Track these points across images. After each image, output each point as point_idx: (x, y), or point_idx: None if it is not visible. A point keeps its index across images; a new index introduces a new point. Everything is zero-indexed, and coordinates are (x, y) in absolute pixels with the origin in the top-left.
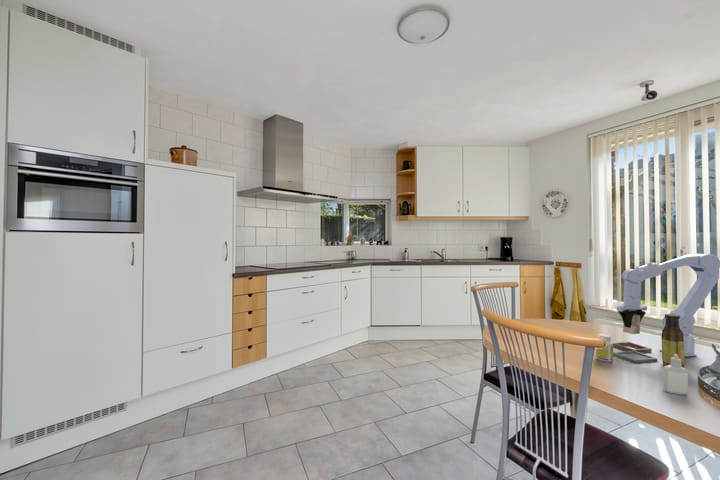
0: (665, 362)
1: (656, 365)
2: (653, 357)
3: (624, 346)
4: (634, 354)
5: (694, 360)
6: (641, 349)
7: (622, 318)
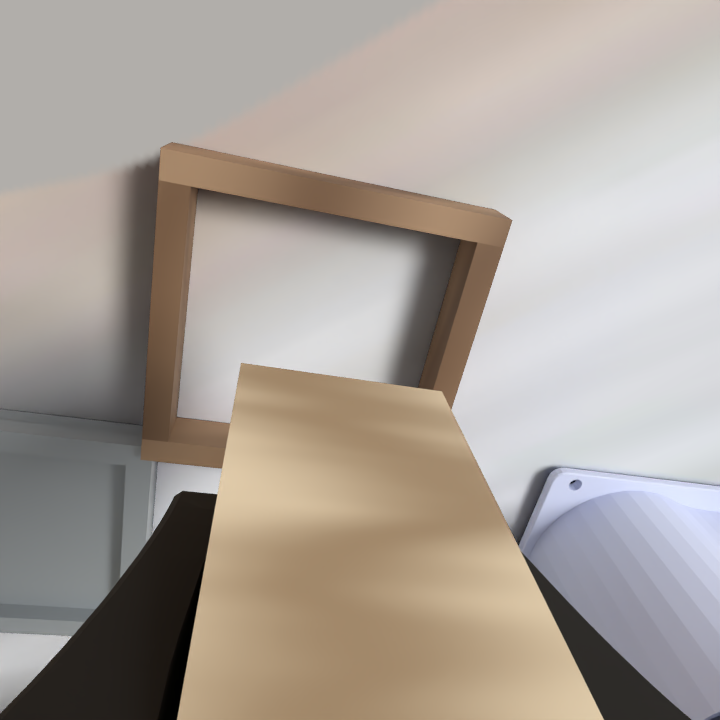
0: None
1: (18, 659)
2: None
3: (176, 334)
4: (65, 488)
5: None
6: None
7: (40, 686)
